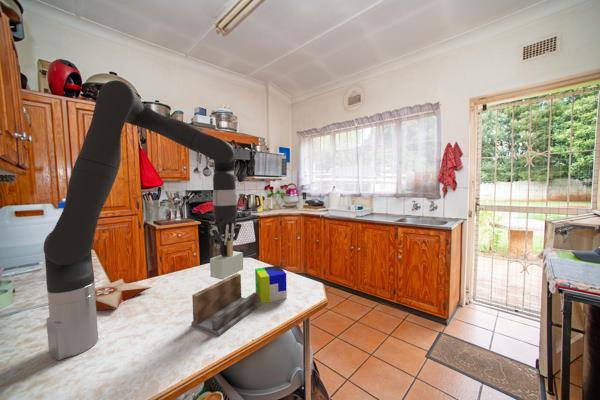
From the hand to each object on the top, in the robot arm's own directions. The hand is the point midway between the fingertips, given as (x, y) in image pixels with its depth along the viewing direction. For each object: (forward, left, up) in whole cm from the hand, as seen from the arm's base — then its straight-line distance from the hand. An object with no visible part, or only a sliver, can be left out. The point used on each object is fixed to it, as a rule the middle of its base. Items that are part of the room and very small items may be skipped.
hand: (226, 254), depth 80 cm
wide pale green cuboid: (0, 0, -6) cm, 6 cm away
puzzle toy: (+18, -5, -21) cm, 28 cm away
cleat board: (0, 0, -21) cm, 21 cm away
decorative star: (-14, +50, -21) cm, 56 cm away
